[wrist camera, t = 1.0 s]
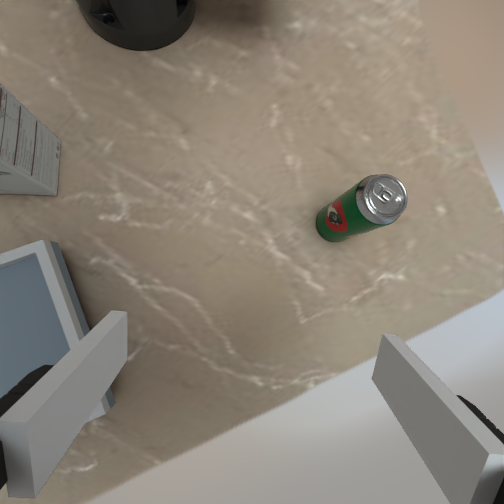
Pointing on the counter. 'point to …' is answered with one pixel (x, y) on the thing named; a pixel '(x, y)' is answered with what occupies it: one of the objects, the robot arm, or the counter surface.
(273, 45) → the counter surface
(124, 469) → the counter surface
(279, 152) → the counter surface
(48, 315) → the shallow rimmed tray
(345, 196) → the soda can
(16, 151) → the supplement box
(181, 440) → the counter surface
